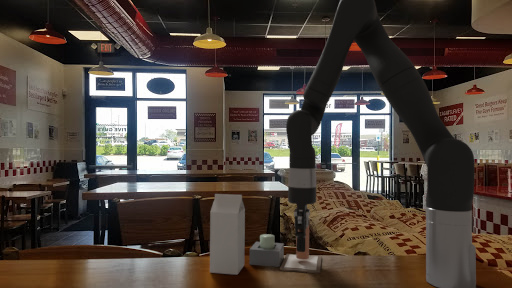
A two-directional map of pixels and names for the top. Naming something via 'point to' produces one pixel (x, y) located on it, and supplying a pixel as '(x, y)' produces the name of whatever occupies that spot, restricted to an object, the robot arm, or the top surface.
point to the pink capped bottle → (305, 254)
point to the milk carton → (227, 234)
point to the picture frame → (301, 264)
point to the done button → (267, 241)
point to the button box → (266, 255)
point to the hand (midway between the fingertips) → (301, 249)
